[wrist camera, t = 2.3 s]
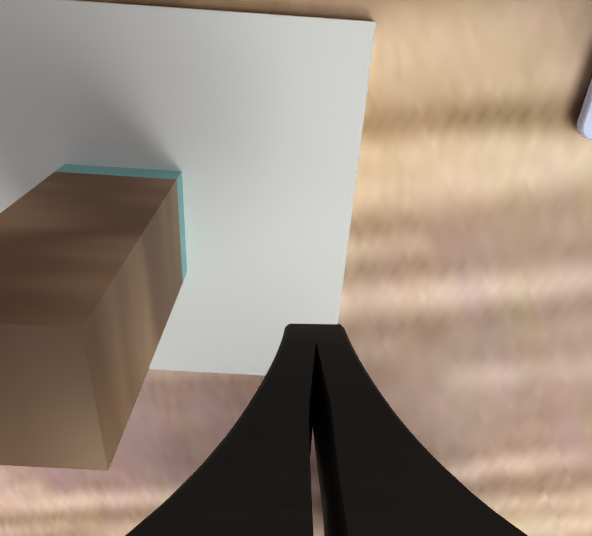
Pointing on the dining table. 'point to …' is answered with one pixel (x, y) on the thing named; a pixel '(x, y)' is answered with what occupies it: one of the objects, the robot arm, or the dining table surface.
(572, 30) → the dining table surface
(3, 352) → the walnut block
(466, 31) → the dining table surface
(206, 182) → the grey mat
